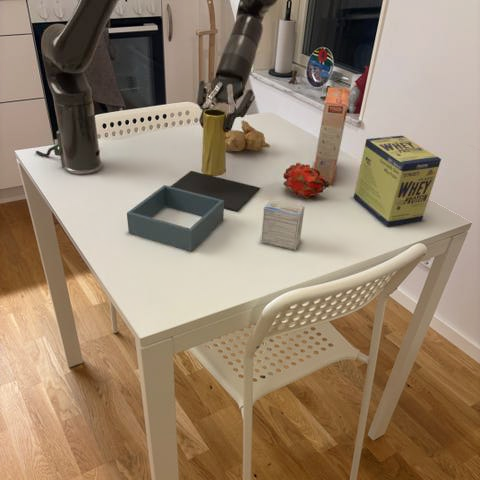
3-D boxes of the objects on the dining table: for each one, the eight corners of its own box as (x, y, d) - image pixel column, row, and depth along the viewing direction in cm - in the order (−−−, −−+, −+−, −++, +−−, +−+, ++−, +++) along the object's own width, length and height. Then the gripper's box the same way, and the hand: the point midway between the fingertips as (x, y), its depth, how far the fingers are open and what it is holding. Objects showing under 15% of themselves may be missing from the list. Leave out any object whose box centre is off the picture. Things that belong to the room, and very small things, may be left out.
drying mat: (164, 192, 128) (164, 190, 128) (191, 172, 138) (191, 170, 138) (237, 211, 123) (237, 210, 122) (259, 189, 133) (259, 187, 132)
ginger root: (271, 156, 146) (266, 128, 141) (216, 166, 148) (210, 139, 143) (269, 138, 158) (265, 111, 153) (219, 147, 160) (213, 121, 155)
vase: (201, 165, 129) (201, 107, 120) (225, 166, 130) (227, 108, 121) (201, 176, 125) (201, 116, 115) (226, 176, 125) (229, 117, 116)
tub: (128, 233, 113) (126, 212, 109) (165, 204, 124) (164, 184, 120) (191, 251, 108) (191, 231, 105) (223, 220, 119) (224, 200, 116)
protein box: (387, 227, 121) (404, 164, 111) (352, 198, 131) (364, 137, 121) (423, 221, 124) (443, 159, 114) (386, 193, 135) (401, 133, 125)
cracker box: (333, 186, 136) (348, 104, 123) (311, 182, 137) (323, 101, 124) (336, 165, 147) (350, 88, 134) (315, 162, 148) (327, 85, 134)
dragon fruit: (278, 193, 135) (321, 209, 133) (274, 186, 127) (319, 203, 125) (291, 162, 134) (334, 178, 132) (287, 153, 126) (333, 170, 124)
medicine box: (300, 241, 114) (305, 205, 108) (295, 251, 110) (300, 215, 105) (266, 233, 115) (269, 198, 110) (260, 243, 112) (263, 207, 107)
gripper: (268, 76, 123) (245, 142, 122) (214, 66, 127) (192, 130, 126) (261, 56, 115) (237, 126, 115) (204, 47, 119) (180, 114, 119)
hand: (213, 128), depth 120 cm, fingers closed on vase, 5 cm apart
